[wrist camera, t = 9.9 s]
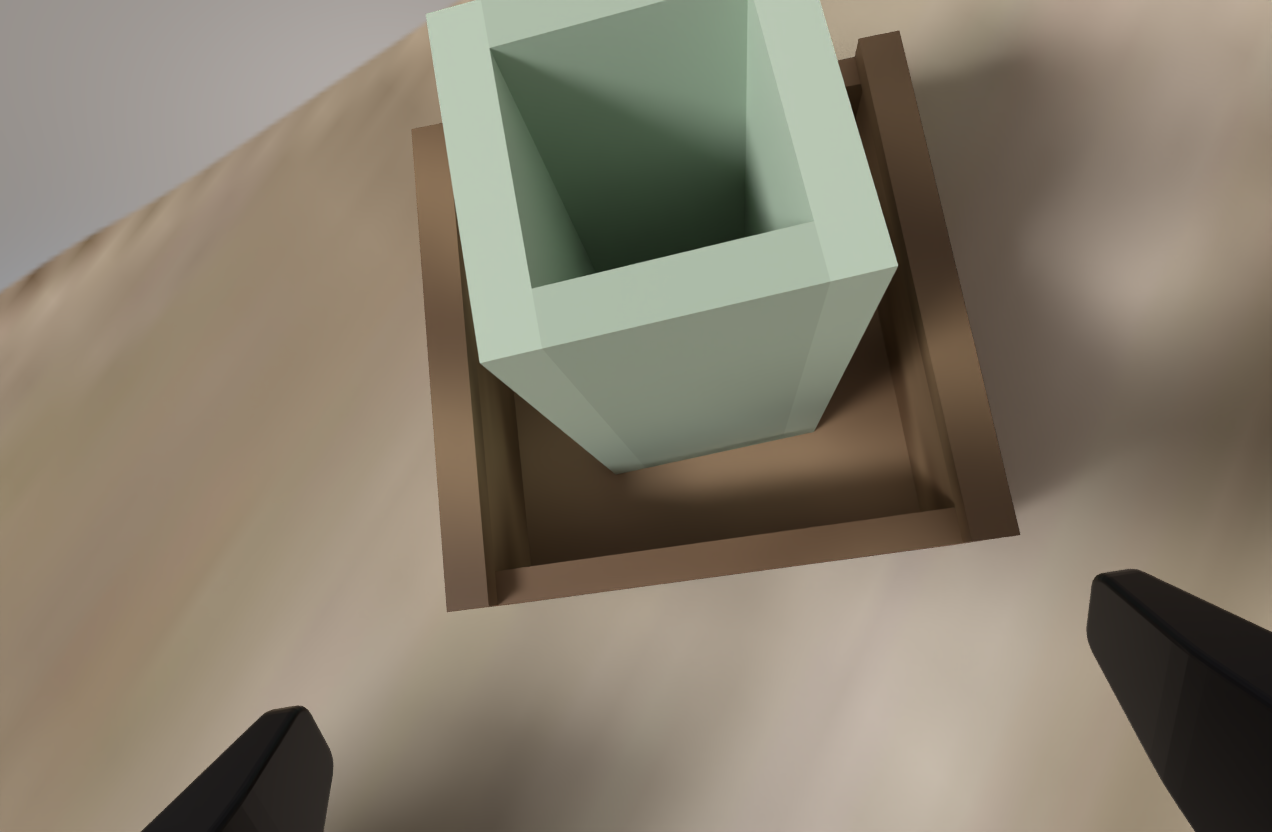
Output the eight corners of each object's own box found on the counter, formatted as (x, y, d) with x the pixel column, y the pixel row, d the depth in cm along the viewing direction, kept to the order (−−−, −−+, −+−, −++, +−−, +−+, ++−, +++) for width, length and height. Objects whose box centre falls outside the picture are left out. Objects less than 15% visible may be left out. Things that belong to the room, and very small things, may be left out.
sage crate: (813, 431, 22) (898, 266, 10) (615, 474, 22) (479, 362, 11) (766, 247, 23) (793, -88, 11) (580, 291, 24) (425, 14, 12)
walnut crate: (954, 544, 21) (1020, 535, 16) (512, 604, 23) (447, 611, 18) (866, 144, 24) (899, 30, 19) (476, 217, 25) (411, 129, 20)
